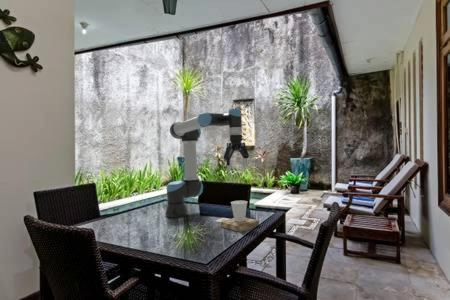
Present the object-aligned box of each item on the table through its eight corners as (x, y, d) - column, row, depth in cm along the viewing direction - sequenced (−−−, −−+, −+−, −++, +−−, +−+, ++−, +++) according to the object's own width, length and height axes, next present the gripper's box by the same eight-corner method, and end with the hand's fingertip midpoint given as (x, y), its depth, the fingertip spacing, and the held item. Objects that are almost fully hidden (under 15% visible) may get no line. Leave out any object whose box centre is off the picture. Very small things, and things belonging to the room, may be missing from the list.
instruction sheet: (214, 221, 189) (214, 220, 189) (222, 218, 196) (222, 217, 196) (230, 223, 182) (230, 223, 182) (238, 220, 189) (238, 219, 189)
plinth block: (220, 227, 176) (220, 221, 176) (239, 221, 187) (238, 216, 187) (241, 232, 164) (241, 226, 164) (259, 225, 176) (259, 220, 176)
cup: (247, 223, 170) (246, 203, 170) (229, 223, 172) (229, 203, 172) (249, 218, 180) (248, 200, 179) (232, 218, 182) (232, 200, 181)
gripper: (225, 134, 169) (227, 172, 169) (253, 134, 186) (255, 168, 187) (216, 135, 174) (217, 171, 175) (244, 134, 192) (246, 167, 192)
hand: (237, 169), depth 181 cm, fingers open, 13 cm apart
